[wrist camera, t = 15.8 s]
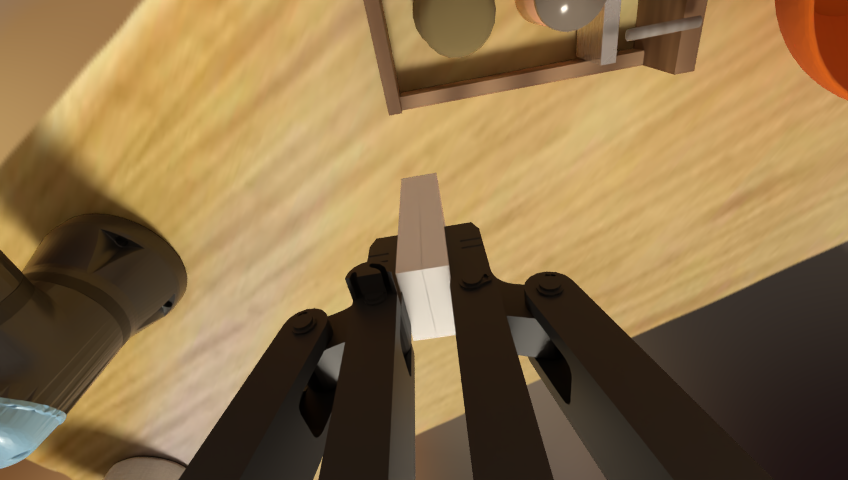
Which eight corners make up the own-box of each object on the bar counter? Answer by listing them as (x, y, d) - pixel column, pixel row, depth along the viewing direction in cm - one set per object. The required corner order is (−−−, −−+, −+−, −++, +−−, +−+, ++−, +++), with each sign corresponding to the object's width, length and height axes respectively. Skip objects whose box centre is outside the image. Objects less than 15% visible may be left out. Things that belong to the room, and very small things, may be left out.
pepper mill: (432, -47, 32) (440, -64, 22) (494, -7, 33) (525, -8, 24) (401, 28, 34) (396, 40, 25) (459, 61, 36) (475, 84, 27)
